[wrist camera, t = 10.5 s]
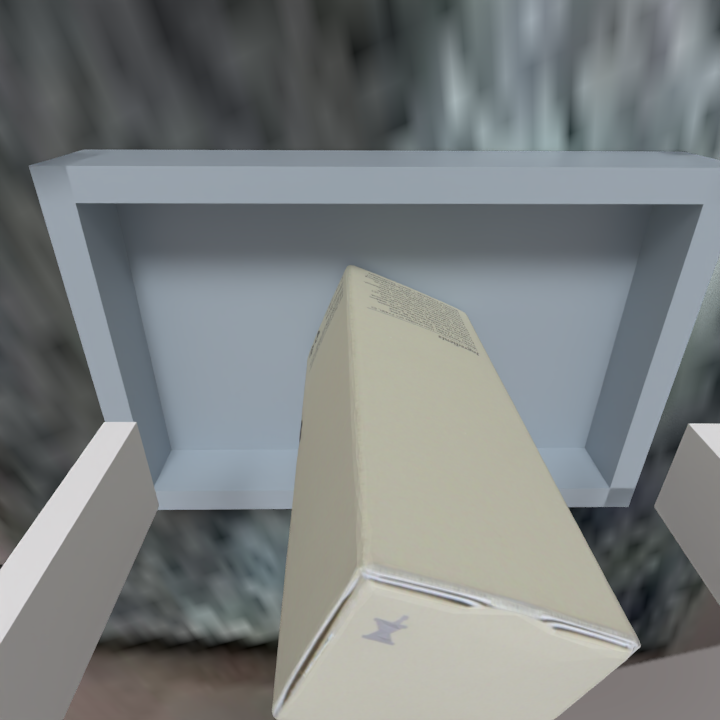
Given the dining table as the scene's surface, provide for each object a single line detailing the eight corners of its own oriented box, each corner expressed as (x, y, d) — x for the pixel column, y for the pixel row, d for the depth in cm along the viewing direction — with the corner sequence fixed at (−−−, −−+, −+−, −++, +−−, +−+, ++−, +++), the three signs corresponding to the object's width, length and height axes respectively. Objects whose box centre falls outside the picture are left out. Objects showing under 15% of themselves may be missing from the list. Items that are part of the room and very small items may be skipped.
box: (304, 356, 20) (243, 724, 9) (349, 256, 18) (345, 565, 7) (424, 401, 21) (507, 779, 10) (479, 312, 19) (660, 655, 8)
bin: (83, 149, 17) (28, 165, 14) (684, 151, 17) (750, 167, 14) (158, 455, 23) (131, 509, 20) (594, 453, 24) (628, 506, 21)
